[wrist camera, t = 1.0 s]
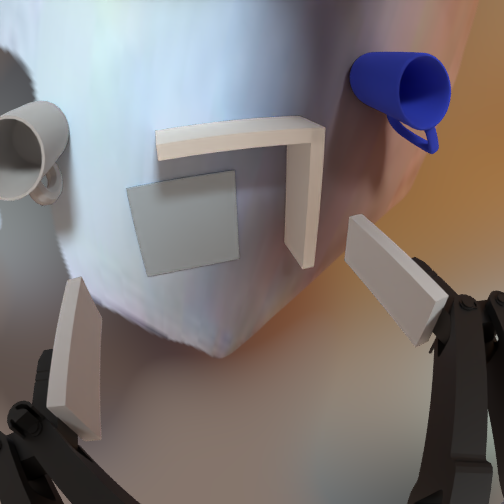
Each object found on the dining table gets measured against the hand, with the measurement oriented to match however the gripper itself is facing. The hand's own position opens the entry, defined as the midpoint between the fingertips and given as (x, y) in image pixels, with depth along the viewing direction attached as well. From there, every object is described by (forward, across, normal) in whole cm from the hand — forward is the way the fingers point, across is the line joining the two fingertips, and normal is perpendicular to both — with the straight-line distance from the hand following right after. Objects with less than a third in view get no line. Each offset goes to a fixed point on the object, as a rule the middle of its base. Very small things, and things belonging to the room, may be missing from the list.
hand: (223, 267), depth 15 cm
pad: (+21, -1, -10) cm, 23 cm away
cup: (+22, -14, +4) cm, 26 cm away
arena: (+21, +5, -6) cm, 23 cm away
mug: (+22, +24, +4) cm, 33 cm away
